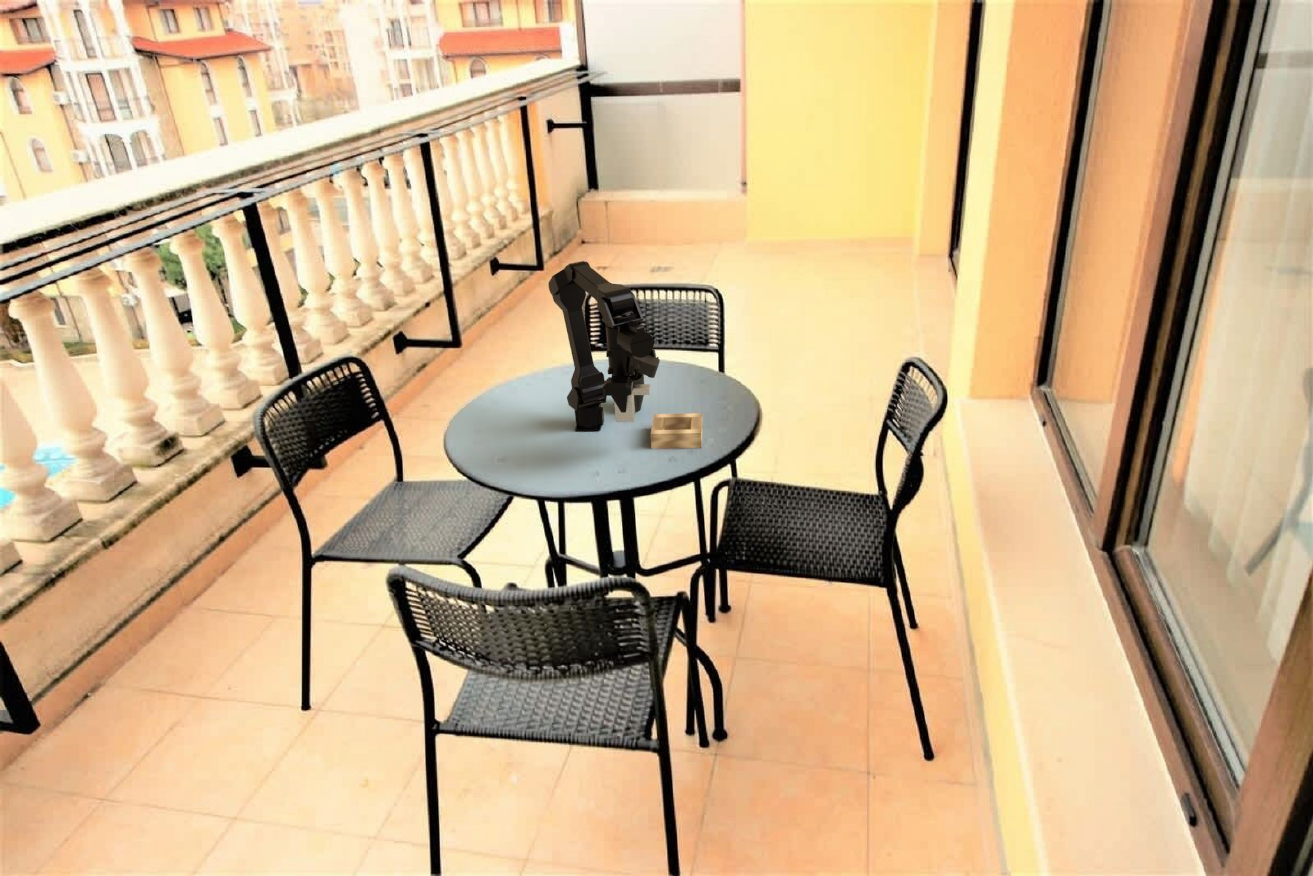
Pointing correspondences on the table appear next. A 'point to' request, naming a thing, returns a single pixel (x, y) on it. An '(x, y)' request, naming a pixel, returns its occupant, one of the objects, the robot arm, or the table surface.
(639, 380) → the mug
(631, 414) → the bracket
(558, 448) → the table surface
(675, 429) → the well block
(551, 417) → the table surface
